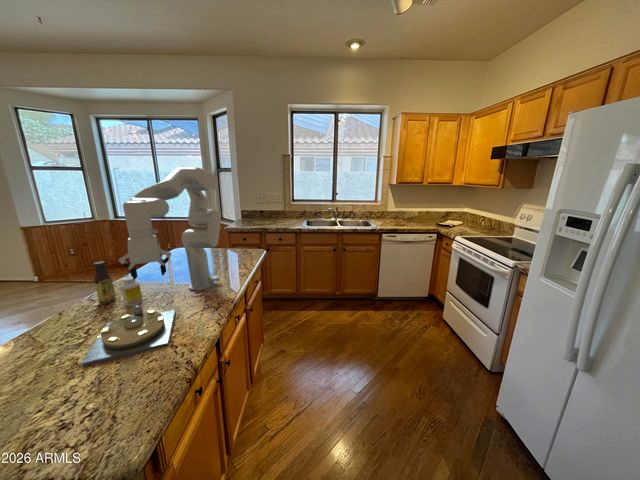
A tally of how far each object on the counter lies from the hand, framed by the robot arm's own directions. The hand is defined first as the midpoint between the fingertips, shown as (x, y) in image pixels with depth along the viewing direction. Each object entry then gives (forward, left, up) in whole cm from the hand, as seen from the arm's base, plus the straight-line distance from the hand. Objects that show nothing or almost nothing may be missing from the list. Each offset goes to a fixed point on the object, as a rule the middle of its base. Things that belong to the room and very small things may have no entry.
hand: (149, 275), depth 99 cm
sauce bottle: (+25, -29, -21) cm, 44 cm away
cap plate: (+6, +8, -21) cm, 23 cm away
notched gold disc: (+6, +8, -19) cm, 21 cm away
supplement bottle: (+13, -22, -21) cm, 33 cm away
